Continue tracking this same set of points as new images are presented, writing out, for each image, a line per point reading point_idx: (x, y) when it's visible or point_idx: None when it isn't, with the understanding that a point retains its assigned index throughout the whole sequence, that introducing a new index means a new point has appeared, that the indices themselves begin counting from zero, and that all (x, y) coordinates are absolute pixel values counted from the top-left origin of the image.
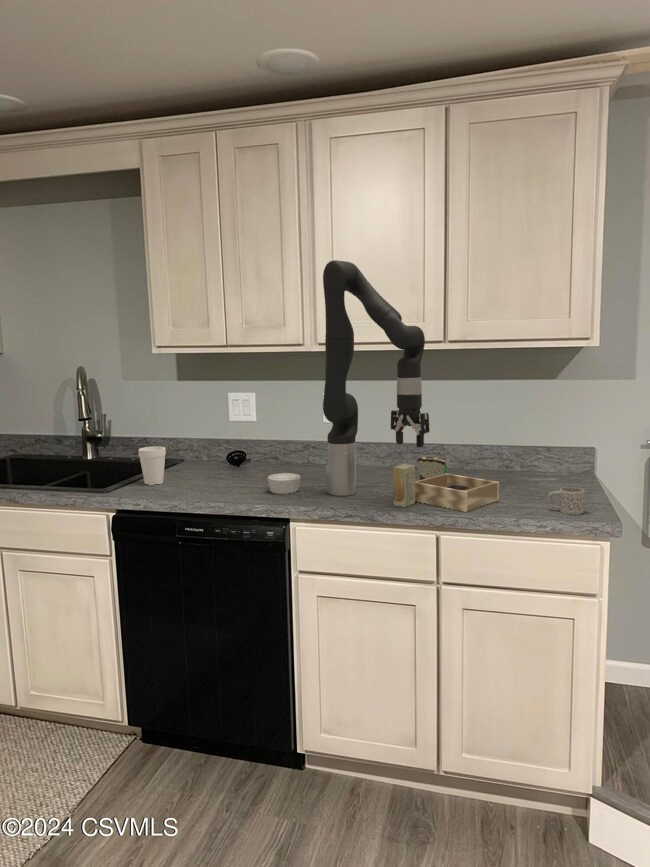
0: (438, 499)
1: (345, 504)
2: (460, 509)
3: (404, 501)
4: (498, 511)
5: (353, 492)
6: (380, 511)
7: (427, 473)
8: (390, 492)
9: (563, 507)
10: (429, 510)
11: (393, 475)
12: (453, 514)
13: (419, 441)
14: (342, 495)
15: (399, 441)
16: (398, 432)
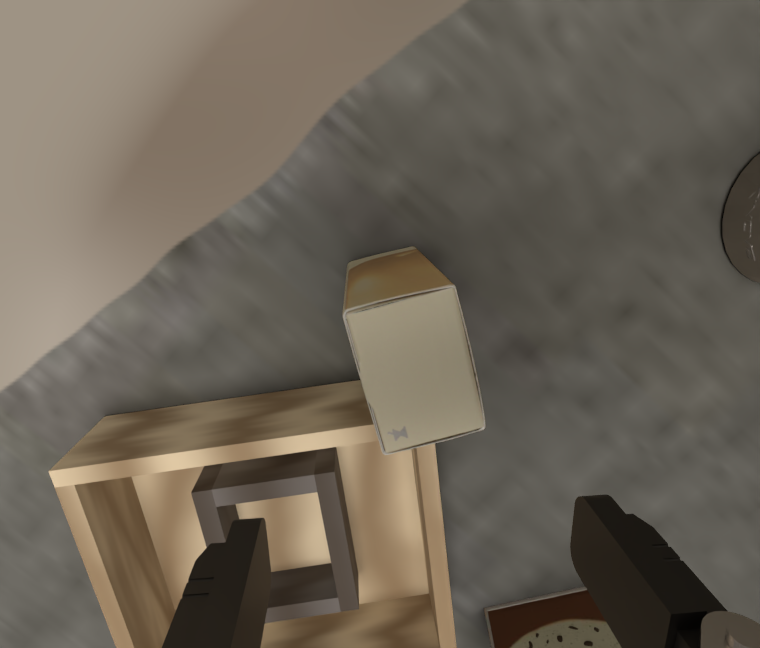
0: (251, 410)
1: (614, 52)
2: (128, 415)
3: (348, 266)
4: (36, 523)
5: (730, 233)
6: (368, 104)
7: (590, 645)
8: (608, 404)
9: None
10: (227, 314)
11: (438, 272)
12: (101, 349)
13: (209, 584)
14: (750, 162)
15: (591, 532)
16: (673, 627)
